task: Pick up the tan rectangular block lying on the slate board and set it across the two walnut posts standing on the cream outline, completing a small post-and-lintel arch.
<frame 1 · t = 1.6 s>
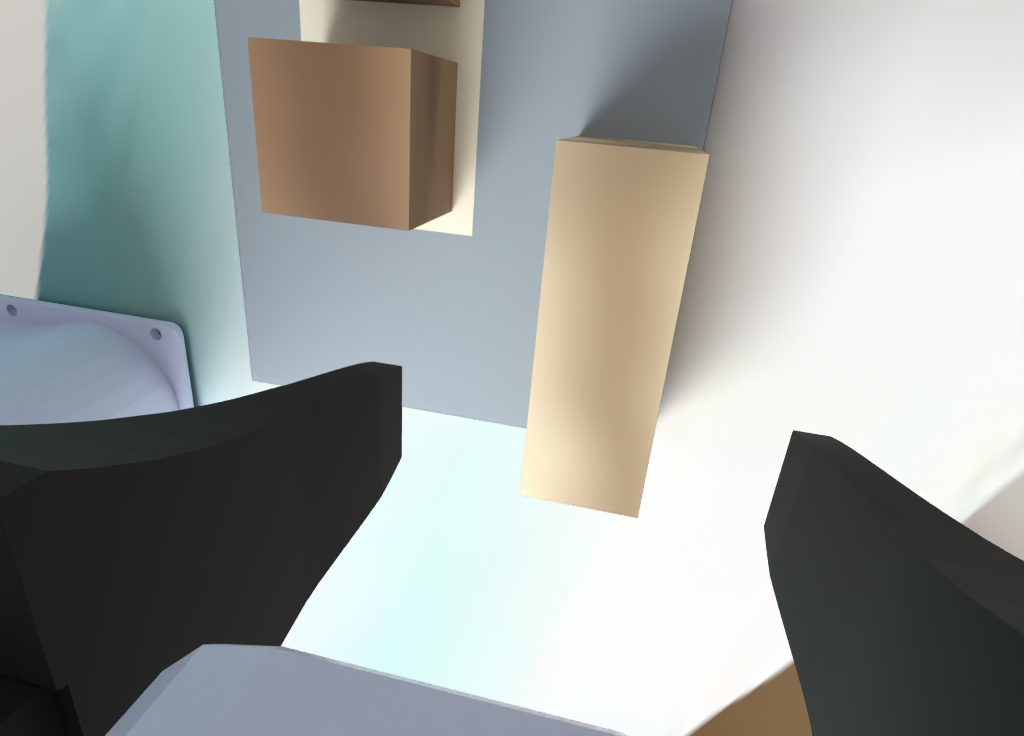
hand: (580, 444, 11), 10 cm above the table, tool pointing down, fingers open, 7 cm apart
tan rectangular block: (612, 298, 20), resting on board
board: (450, 139, 20), on the table
post a: (389, 134, 20), resting on board
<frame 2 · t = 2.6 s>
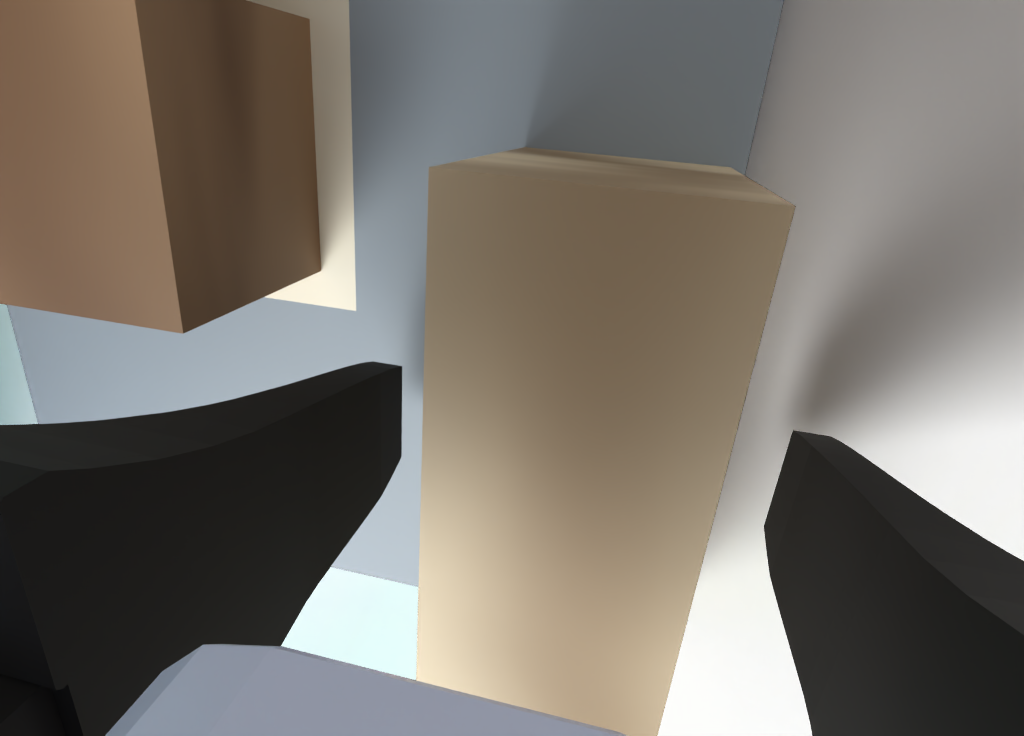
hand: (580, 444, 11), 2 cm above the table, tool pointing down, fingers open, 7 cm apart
tan rectangular block: (586, 415, 12), resting on board
board: (311, 152, 12), on the table
post a: (209, 143, 12), resting on board
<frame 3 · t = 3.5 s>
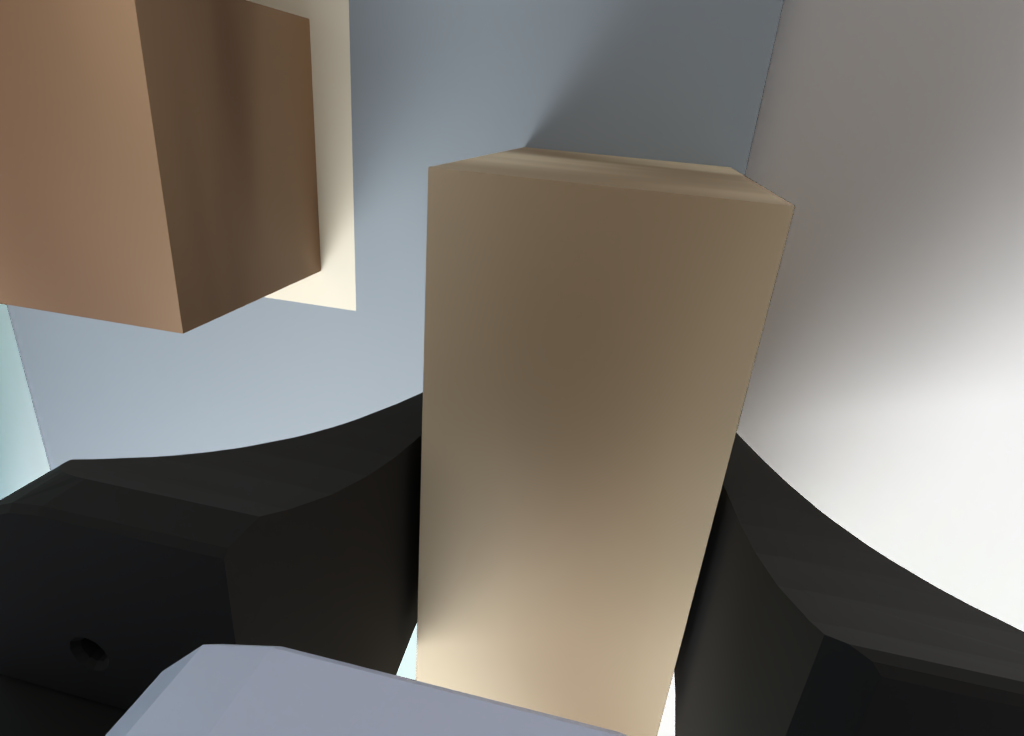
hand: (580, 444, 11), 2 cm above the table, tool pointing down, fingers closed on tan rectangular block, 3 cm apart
tan rectangular block: (586, 415, 12), resting on board, touching gripper
board: (311, 152, 12), on the table
post a: (209, 143, 12), resting on board
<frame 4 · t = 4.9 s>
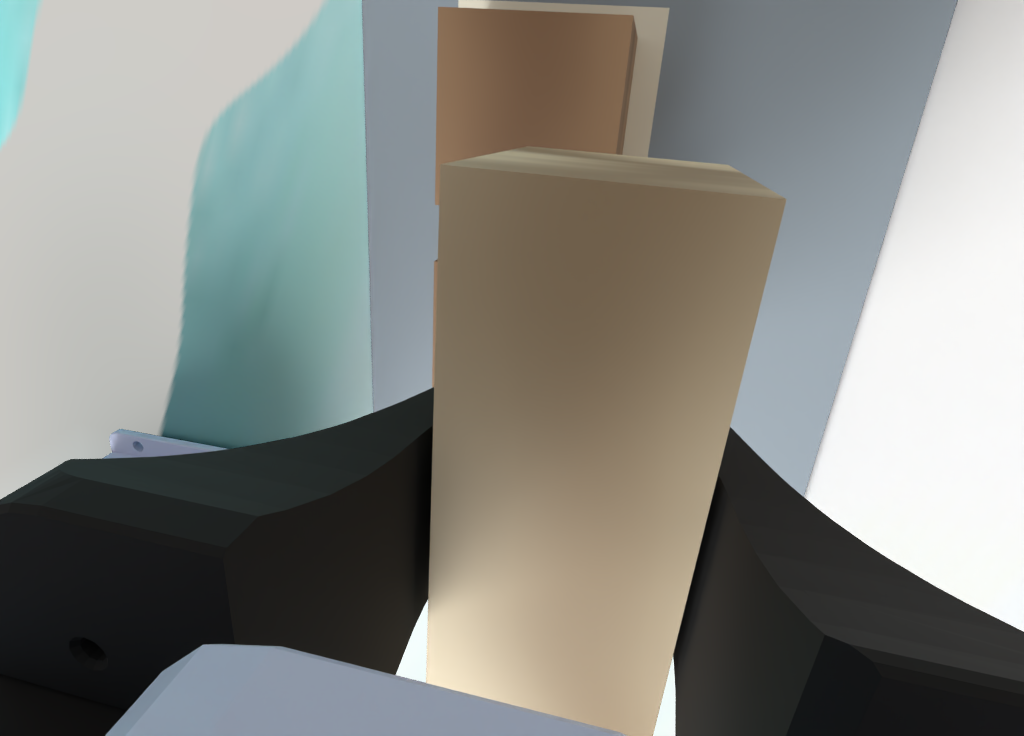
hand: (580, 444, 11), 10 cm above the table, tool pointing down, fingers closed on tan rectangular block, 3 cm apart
tan rectangular block: (589, 407, 13), point 8 cm above the table, touching gripper
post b: (551, 118, 18), resting on board
board: (594, 314, 20), on the table
post a: (534, 309, 20), resting on board
when the fingers open (6 cm above the table, at t = 6.6 s): tan rectangular block stays where it is, resting on post a, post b.
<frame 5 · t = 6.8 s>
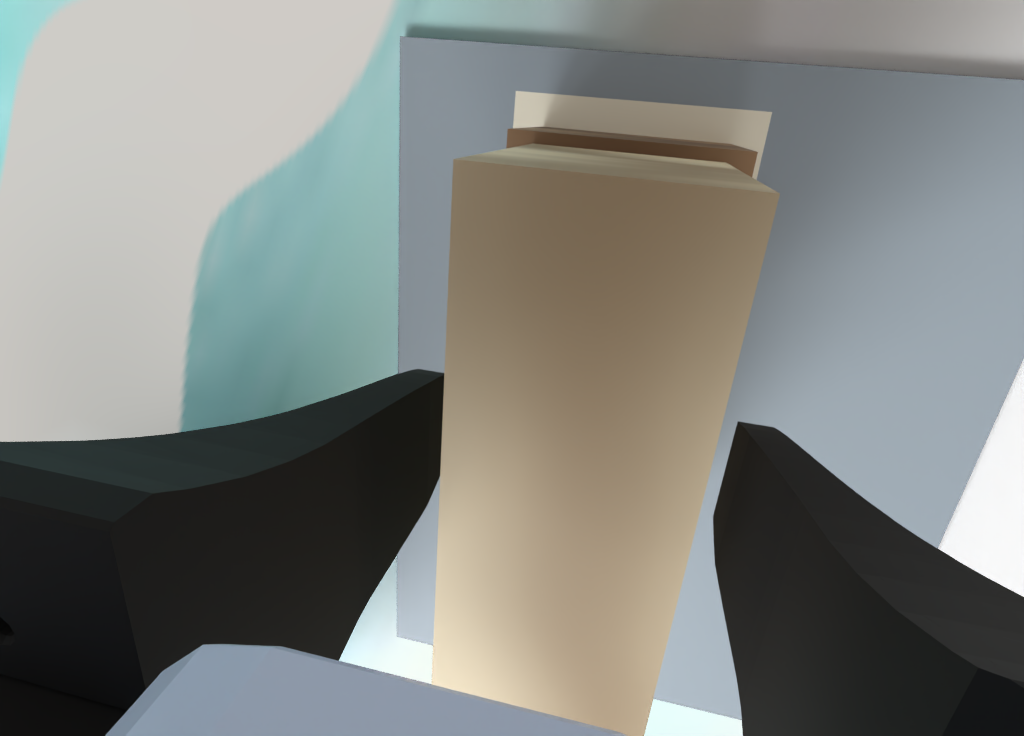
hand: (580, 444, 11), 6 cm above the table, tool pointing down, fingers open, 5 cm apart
tan rectangular block: (590, 397, 13), point 4 cm above the table, touching post a, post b
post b: (620, 228, 15), resting on board, touching tan rectangular block
board: (658, 440, 18), on the table
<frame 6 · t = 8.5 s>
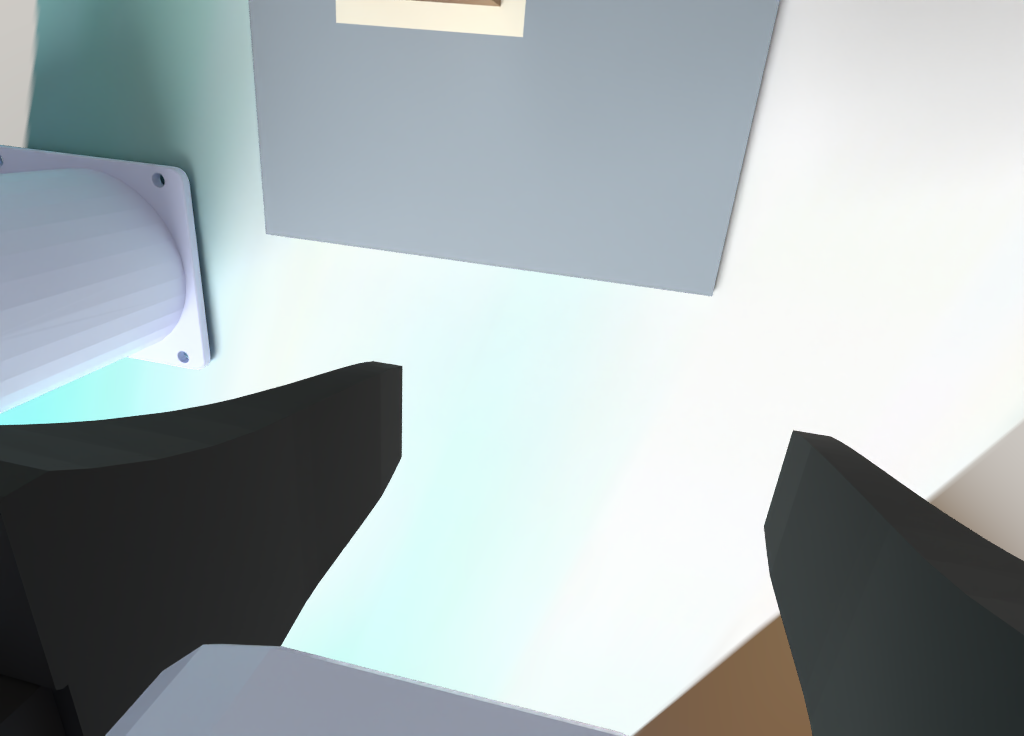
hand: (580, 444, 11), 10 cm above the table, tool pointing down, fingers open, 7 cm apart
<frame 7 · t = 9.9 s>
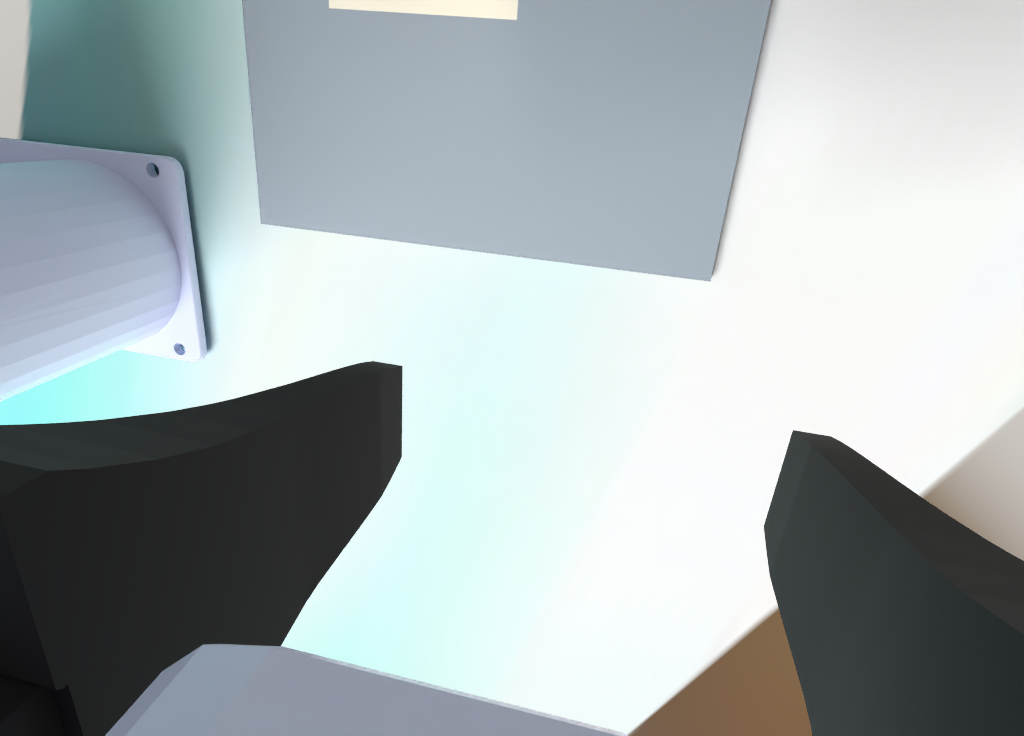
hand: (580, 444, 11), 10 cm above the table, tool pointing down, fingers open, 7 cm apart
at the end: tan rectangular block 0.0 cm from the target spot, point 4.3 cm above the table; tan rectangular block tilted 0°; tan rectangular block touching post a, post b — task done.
